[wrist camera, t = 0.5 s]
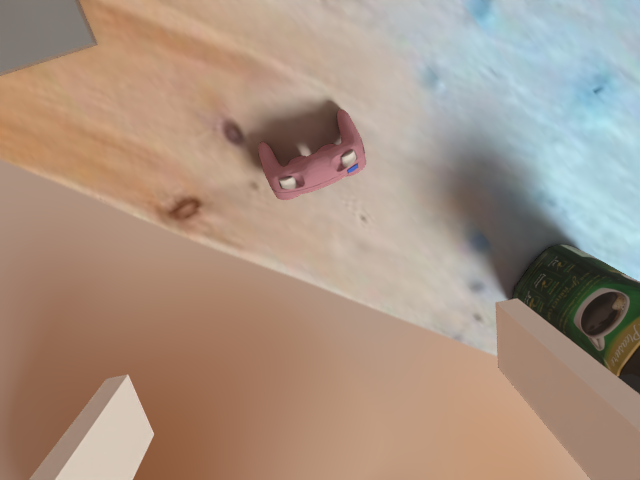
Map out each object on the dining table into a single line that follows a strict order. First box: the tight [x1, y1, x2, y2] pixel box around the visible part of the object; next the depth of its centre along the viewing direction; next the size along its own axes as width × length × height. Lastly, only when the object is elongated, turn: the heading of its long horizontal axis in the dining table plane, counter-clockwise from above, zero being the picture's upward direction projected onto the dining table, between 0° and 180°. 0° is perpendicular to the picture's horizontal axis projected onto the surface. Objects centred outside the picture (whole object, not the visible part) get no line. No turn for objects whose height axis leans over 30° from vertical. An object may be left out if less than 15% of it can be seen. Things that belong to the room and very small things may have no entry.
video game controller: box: [258, 109, 366, 200], centre depth 34 cm, size 10×5×7 cm, turn 111°
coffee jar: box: [513, 245, 640, 377], centre depth 33 cm, size 10×8×19 cm
